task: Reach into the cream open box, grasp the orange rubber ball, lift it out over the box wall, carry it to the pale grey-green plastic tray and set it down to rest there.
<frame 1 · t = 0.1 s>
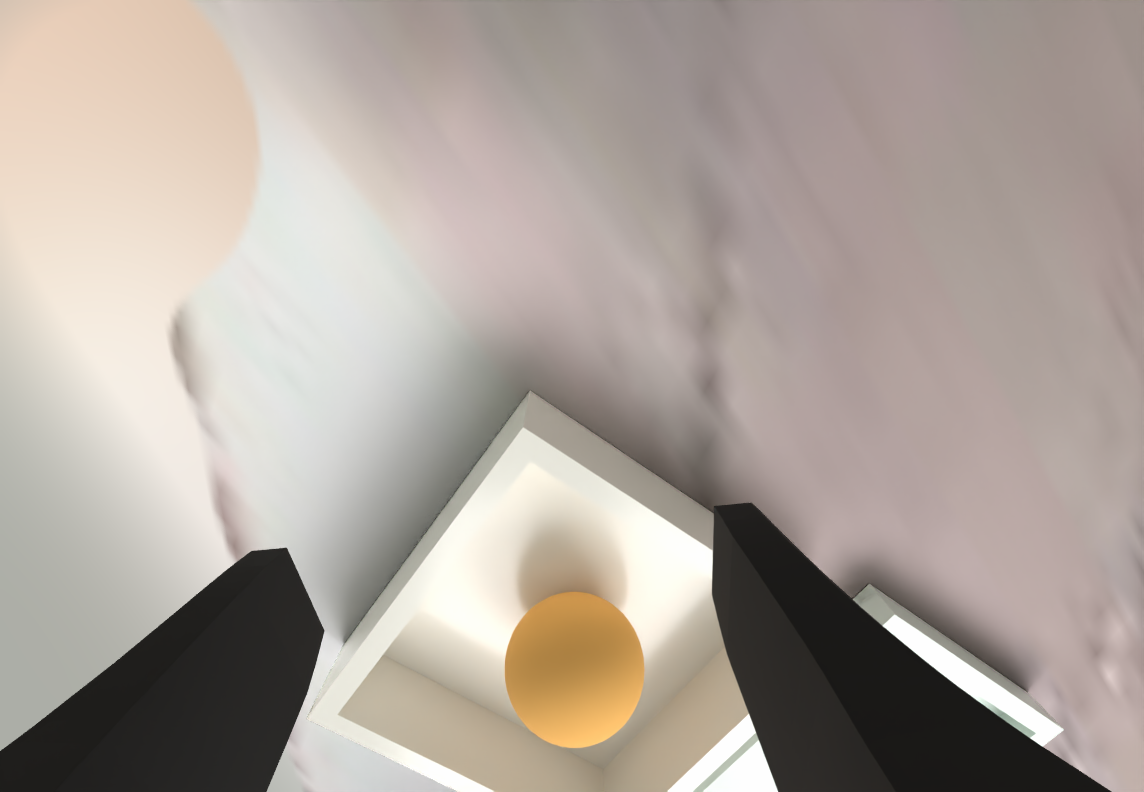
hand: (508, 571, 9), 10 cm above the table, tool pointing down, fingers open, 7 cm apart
cream open box: (572, 611, 22), on the table
tray: (835, 742, 25), on the table
ball: (574, 665, 20), point 3 cm above the table, touching cream open box
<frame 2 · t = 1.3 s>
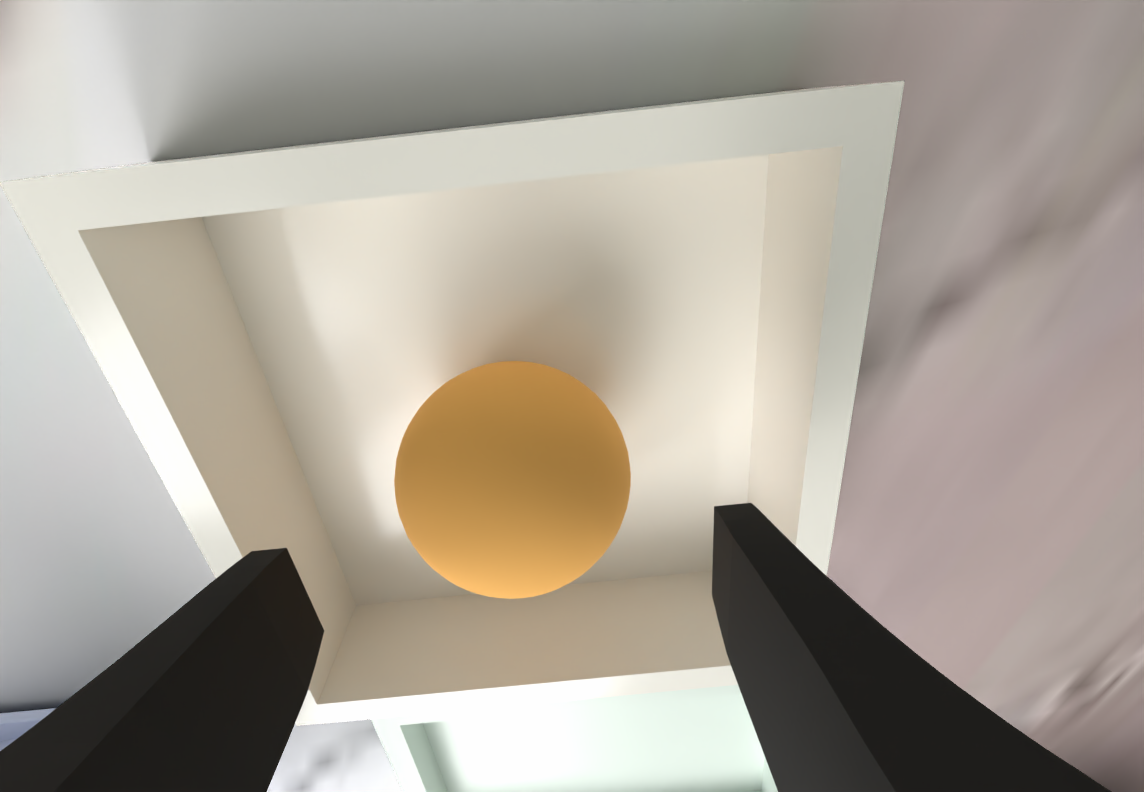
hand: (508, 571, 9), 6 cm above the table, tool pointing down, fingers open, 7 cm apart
cream open box: (521, 413, 14), on the table
tray: (599, 730, 21), on the table
ball: (515, 476, 12), point 3 cm above the table, touching cream open box
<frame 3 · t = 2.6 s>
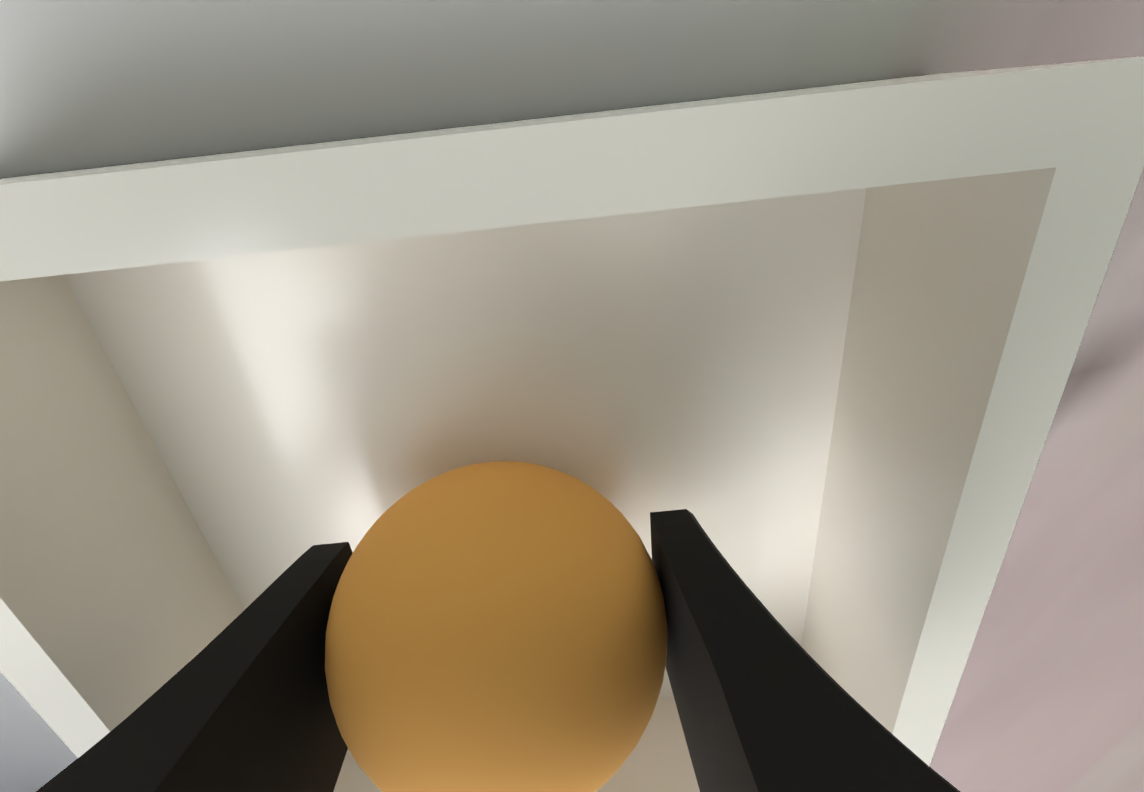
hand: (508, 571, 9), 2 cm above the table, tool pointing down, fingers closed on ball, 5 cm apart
cream open box: (514, 507, 11), on the table
ball: (502, 624, 8), point 3 cm above the table, touching gripper, cream open box
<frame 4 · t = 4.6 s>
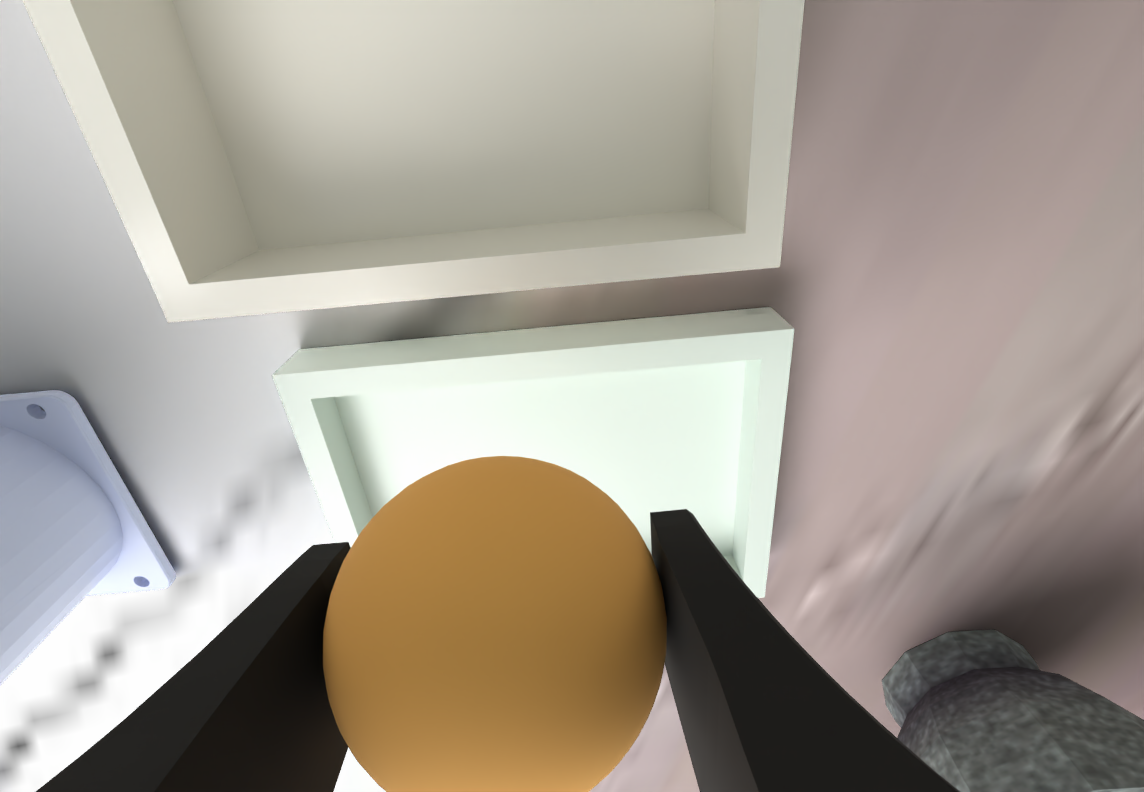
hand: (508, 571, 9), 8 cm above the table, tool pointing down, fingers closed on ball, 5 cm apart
tray: (550, 467, 19), on the table
mortar and pestle: (934, 679, 25), on the table
ball: (501, 619, 8), point 9 cm above the table, touching gripper
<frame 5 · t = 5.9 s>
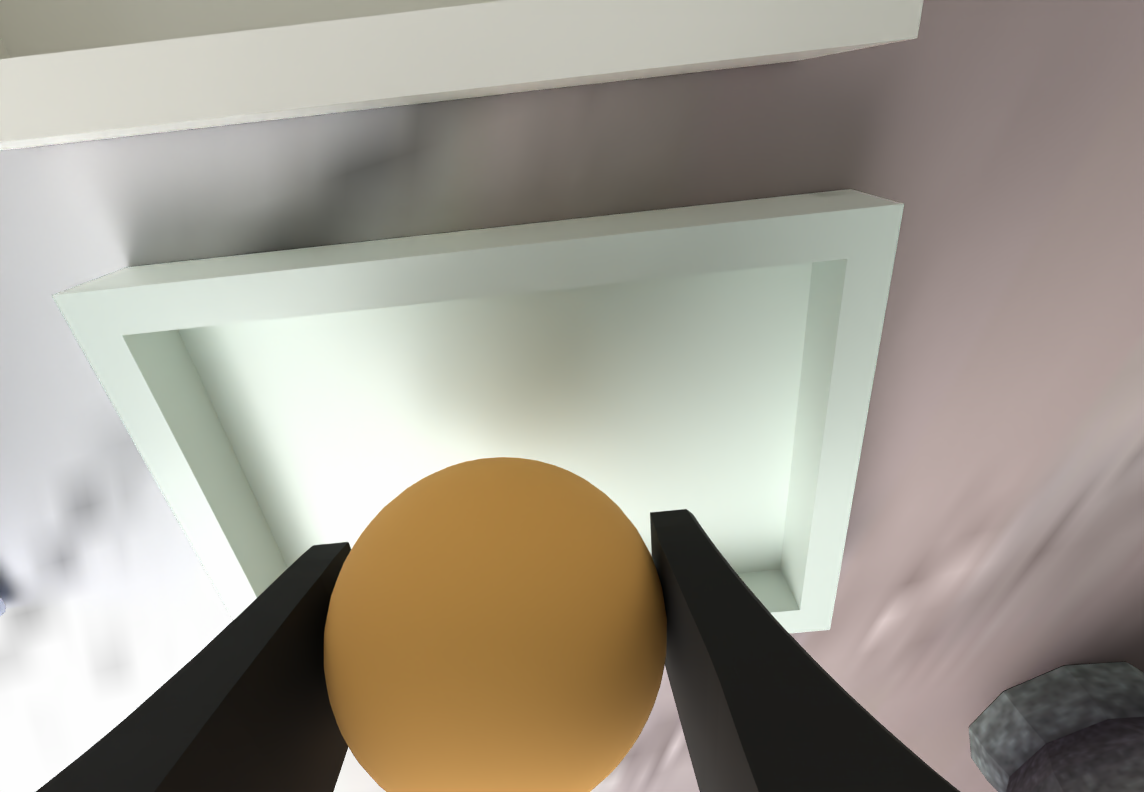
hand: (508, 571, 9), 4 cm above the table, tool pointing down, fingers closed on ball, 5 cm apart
tray: (520, 446, 13), on the table
mortar and pestle: (1035, 723, 19), on the table
ball: (501, 620, 8), point 5 cm above the table, touching gripper
when the fingers open (4 cm above the table, at t = 6.6 s): ball drops 2 cm, resting on tray.
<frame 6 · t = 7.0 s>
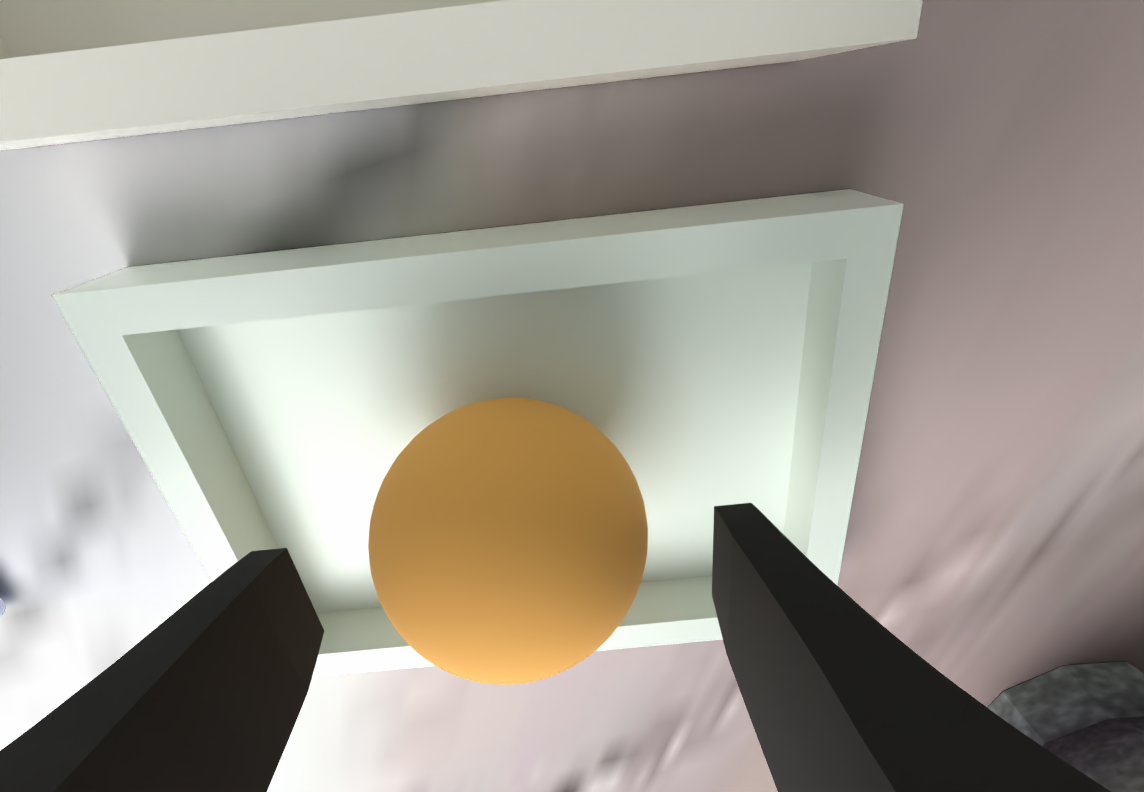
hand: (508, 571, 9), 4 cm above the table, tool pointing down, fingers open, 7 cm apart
tray: (520, 446, 13), on the table
mortar and pestle: (1035, 723, 19), on the table
ball: (512, 532, 10), point 3 cm above the table, touching tray
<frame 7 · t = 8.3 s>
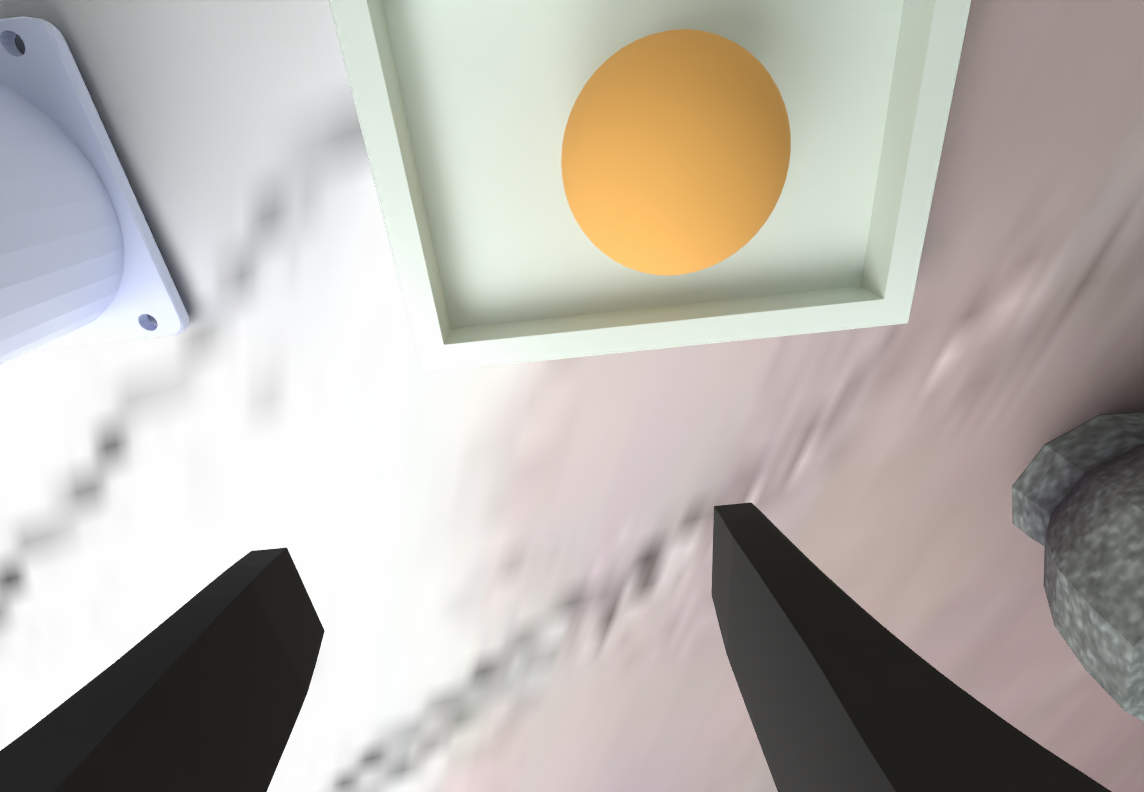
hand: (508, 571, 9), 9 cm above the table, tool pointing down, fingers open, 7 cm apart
tray: (647, 155, 15), on the table
mortar and pestle: (1071, 487, 21), on the table
ball: (671, 162, 12), point 3 cm above the table, touching tray
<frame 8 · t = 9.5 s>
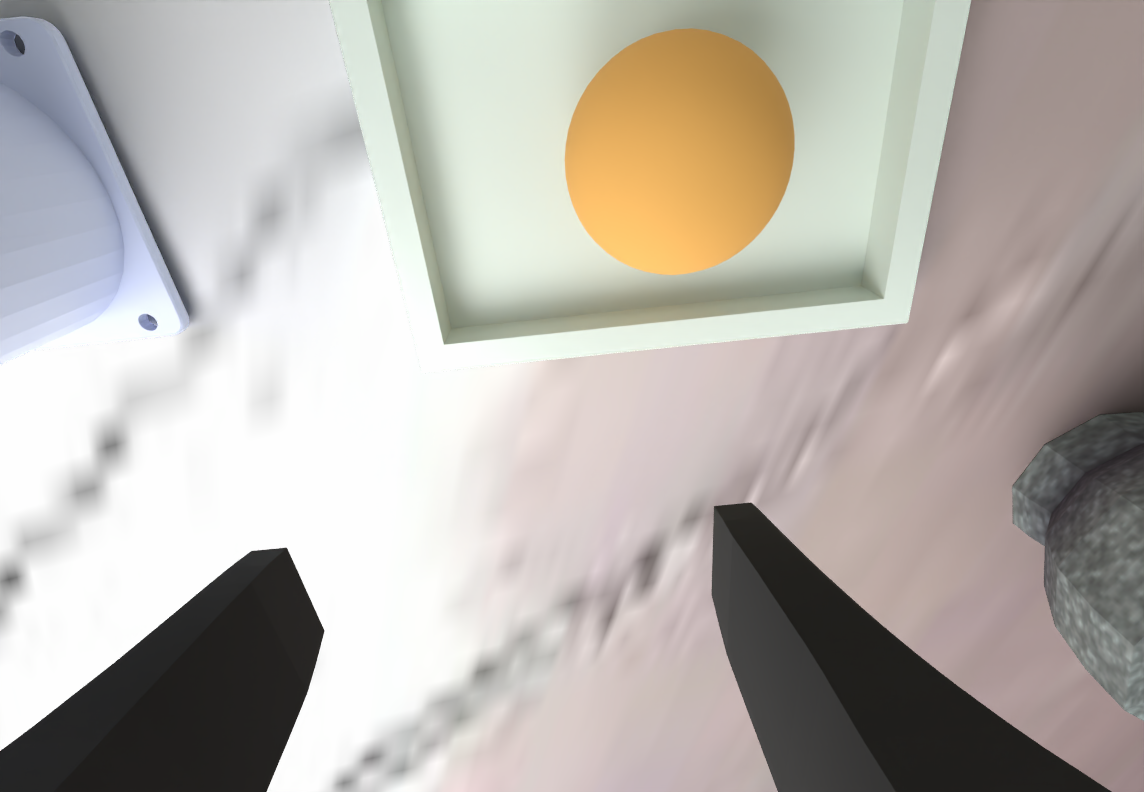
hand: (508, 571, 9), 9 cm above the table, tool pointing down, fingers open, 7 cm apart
tray: (647, 155, 15), on the table
mortar and pestle: (1071, 487, 21), on the table
ball: (675, 161, 12), point 3 cm above the table, touching tray
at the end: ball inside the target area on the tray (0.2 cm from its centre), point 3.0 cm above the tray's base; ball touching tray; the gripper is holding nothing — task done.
